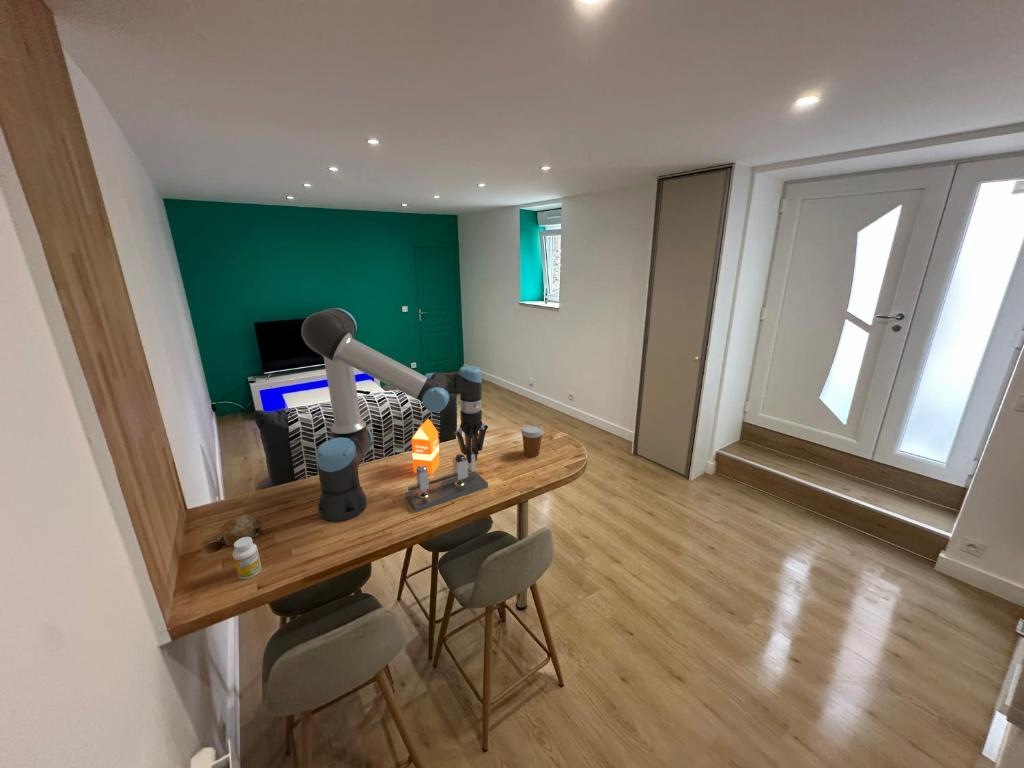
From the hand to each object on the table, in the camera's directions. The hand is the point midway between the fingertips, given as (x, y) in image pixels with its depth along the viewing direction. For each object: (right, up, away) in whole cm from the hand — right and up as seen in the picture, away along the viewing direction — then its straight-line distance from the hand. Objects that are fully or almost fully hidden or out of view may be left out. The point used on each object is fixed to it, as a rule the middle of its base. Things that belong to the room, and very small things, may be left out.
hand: (471, 469), depth 147 cm
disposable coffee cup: (+23, +1, +26) cm, 35 cm away
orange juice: (-20, -2, +13) cm, 23 cm away
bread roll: (-67, -15, -27) cm, 74 cm away
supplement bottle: (-55, -19, -41) cm, 71 cm away
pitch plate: (-8, -8, -4) cm, 12 cm away
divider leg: (-4, -4, -2) cm, 6 cm away
